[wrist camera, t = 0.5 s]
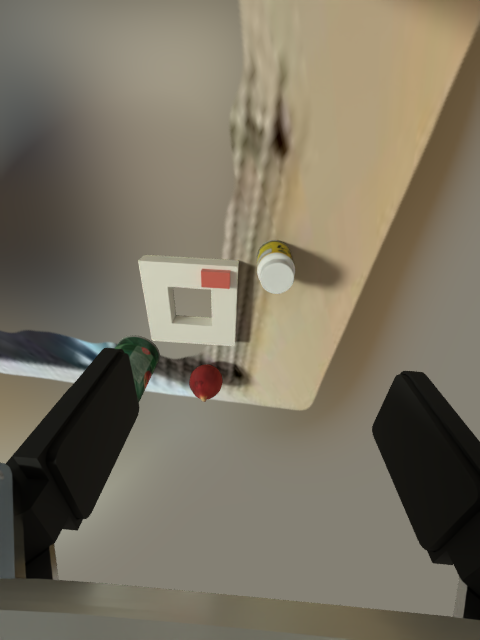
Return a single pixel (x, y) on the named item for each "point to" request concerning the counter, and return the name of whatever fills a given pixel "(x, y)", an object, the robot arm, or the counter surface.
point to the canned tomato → (140, 360)
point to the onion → (205, 381)
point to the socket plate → (190, 273)
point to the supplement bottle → (275, 267)
